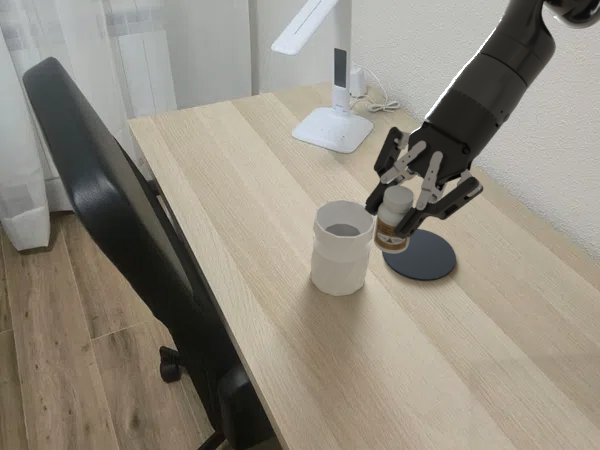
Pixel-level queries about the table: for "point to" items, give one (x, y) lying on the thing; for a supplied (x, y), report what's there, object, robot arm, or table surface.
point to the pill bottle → (392, 219)
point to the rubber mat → (423, 257)
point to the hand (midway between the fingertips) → (383, 223)
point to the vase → (341, 246)
